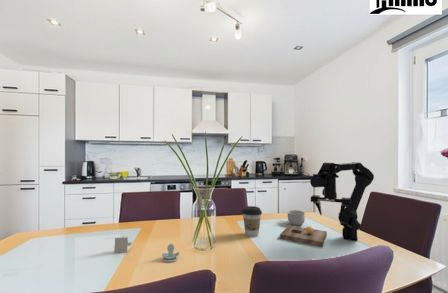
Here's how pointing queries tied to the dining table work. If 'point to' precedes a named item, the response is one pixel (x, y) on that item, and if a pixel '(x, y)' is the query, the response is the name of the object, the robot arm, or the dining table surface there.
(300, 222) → the teacup
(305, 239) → the pocket board
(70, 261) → the dining table surface
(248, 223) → the coffee cup
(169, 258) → the pacifier
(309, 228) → the ball
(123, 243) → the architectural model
